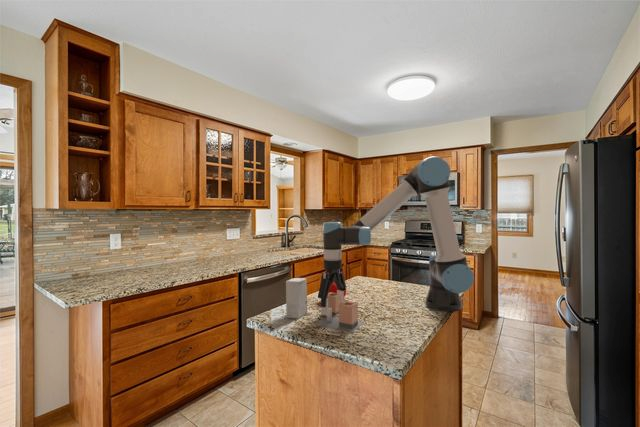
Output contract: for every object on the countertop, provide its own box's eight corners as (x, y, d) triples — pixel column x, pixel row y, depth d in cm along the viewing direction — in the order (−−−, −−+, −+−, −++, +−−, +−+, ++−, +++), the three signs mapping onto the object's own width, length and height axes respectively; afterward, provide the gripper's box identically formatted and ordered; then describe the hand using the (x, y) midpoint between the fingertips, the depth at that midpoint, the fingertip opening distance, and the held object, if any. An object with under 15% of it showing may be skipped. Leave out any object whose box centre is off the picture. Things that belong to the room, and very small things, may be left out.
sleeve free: (341, 312, 129) (341, 293, 129) (335, 316, 125) (335, 296, 125) (330, 310, 132) (330, 292, 132) (324, 314, 128) (324, 295, 128)
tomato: (323, 297, 153) (323, 276, 153) (346, 297, 152) (346, 277, 152) (321, 304, 141) (320, 282, 141) (346, 305, 140) (346, 282, 140)
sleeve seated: (357, 324, 115) (357, 302, 115) (351, 329, 110) (351, 306, 110) (345, 321, 117) (345, 300, 117) (339, 326, 113) (338, 304, 113)
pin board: (364, 324, 116) (364, 309, 116) (352, 334, 107) (351, 318, 107) (327, 316, 125) (327, 303, 125) (313, 325, 115) (312, 310, 115)
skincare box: (298, 319, 122) (298, 282, 122) (285, 317, 124) (285, 280, 124) (307, 313, 130) (307, 277, 130) (295, 311, 132) (294, 276, 132)
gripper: (338, 254, 141) (338, 301, 141) (308, 262, 120) (309, 317, 120) (353, 255, 137) (353, 303, 137) (325, 264, 116) (325, 320, 116)
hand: (332, 310), depth 128 cm, fingers open, 13 cm apart
